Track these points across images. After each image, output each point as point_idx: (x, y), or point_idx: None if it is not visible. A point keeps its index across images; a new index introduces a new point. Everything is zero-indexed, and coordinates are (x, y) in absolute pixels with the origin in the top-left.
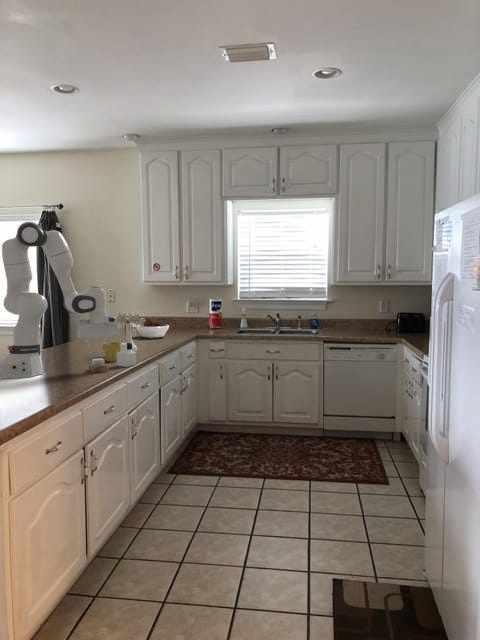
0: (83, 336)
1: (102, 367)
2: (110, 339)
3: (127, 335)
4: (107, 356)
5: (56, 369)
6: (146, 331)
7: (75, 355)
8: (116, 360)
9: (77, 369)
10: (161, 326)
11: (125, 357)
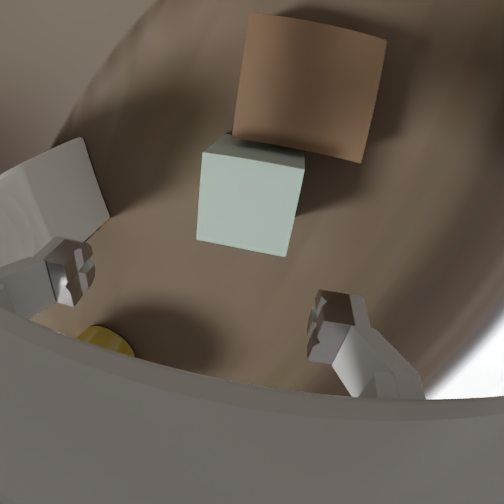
0: (500, 430)
1: (295, 20)
2: (6, 274)
3: None
4: None
5: (445, 322)
6: None
7: None
8: (93, 326)
9: (378, 255)
10: None
11: (38, 156)
